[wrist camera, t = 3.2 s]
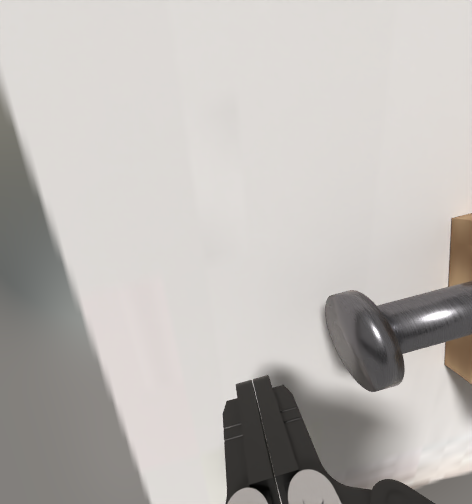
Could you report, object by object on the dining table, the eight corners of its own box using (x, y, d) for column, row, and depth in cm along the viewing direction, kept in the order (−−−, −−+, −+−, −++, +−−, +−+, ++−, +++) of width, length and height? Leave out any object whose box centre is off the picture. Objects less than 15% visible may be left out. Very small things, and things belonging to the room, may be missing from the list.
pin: (329, 347, 14) (383, 416, 10) (321, 281, 13) (379, 327, 9) (516, 296, 15) (644, 340, 10) (525, 229, 14) (677, 247, 9)
